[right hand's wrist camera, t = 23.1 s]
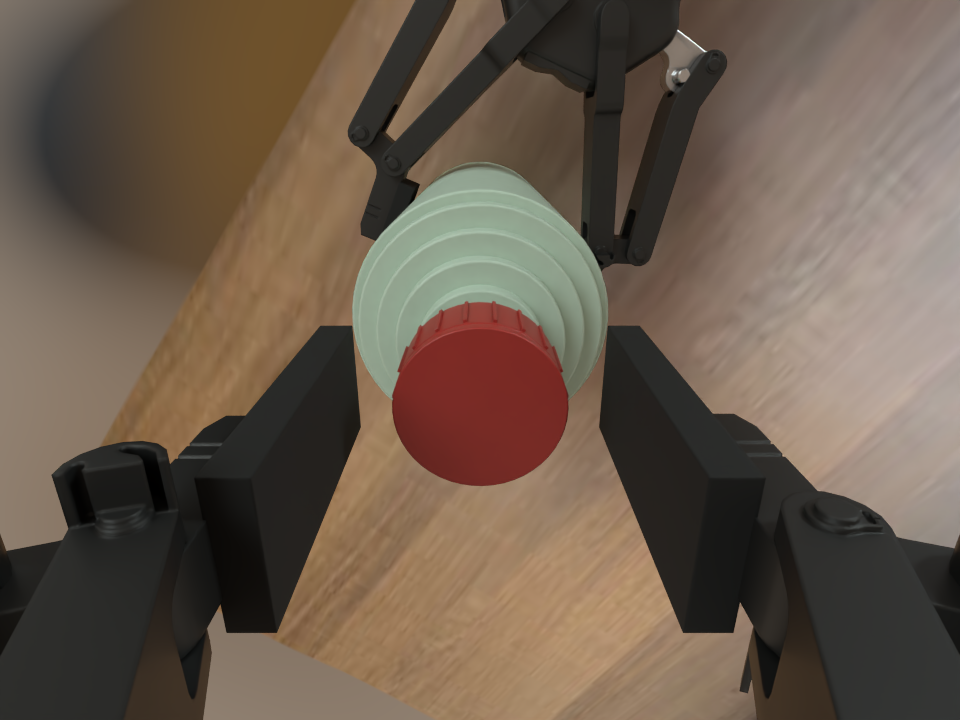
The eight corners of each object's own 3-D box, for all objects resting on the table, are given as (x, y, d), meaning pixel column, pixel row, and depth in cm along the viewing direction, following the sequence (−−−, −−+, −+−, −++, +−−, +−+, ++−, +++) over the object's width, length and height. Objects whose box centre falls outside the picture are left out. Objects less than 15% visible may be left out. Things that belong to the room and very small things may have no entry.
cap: (523, 272, 13) (531, 295, 12) (582, 411, 15) (596, 451, 13) (374, 336, 14) (357, 368, 12) (442, 465, 15) (437, 511, 13)
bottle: (451, 135, 33) (393, 137, 11) (572, 204, 35) (735, 328, 12) (391, 259, 36) (247, 461, 14) (505, 318, 37) (543, 588, 15)
